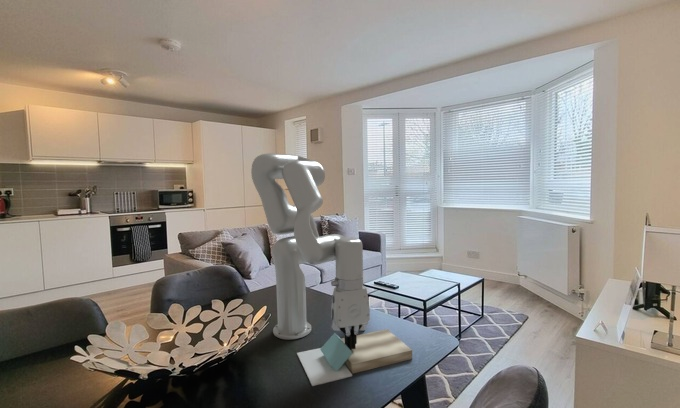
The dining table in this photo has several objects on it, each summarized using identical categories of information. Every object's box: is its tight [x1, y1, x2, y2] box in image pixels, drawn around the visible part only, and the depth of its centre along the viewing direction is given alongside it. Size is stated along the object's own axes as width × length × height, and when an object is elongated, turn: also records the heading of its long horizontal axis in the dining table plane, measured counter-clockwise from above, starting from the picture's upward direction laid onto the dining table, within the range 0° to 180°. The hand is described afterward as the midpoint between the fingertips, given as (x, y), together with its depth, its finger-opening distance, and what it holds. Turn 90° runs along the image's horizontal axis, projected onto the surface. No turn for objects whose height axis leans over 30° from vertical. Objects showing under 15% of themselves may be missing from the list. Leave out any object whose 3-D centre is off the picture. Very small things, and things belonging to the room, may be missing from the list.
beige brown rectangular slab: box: [341, 329, 413, 375], centre depth 93 cm, size 14×18×2 cm
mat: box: [296, 347, 353, 387], centre depth 88 cm, size 16×10×1 cm, turn 21°
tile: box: [320, 332, 352, 371], centre depth 89 cm, size 9×6×2 cm
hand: (350, 347), depth 91 cm, fingers closed
